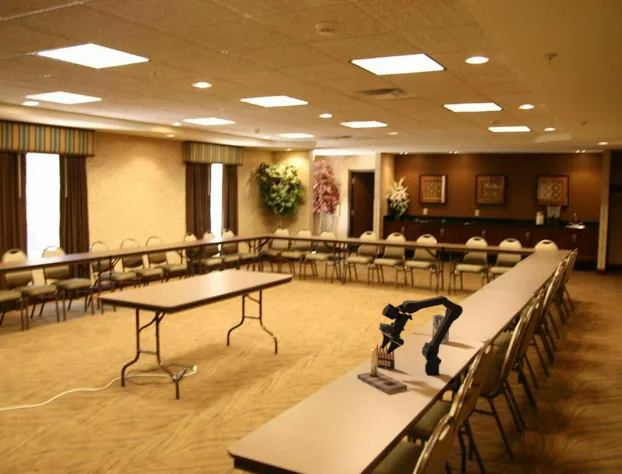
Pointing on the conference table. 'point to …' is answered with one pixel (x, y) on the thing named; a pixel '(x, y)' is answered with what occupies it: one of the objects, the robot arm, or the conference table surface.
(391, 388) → the block
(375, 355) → the brass peg
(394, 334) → the robot arm
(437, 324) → the coffee box
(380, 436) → the conference table surface
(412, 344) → the conference table surface
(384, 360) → the ammunition clip
